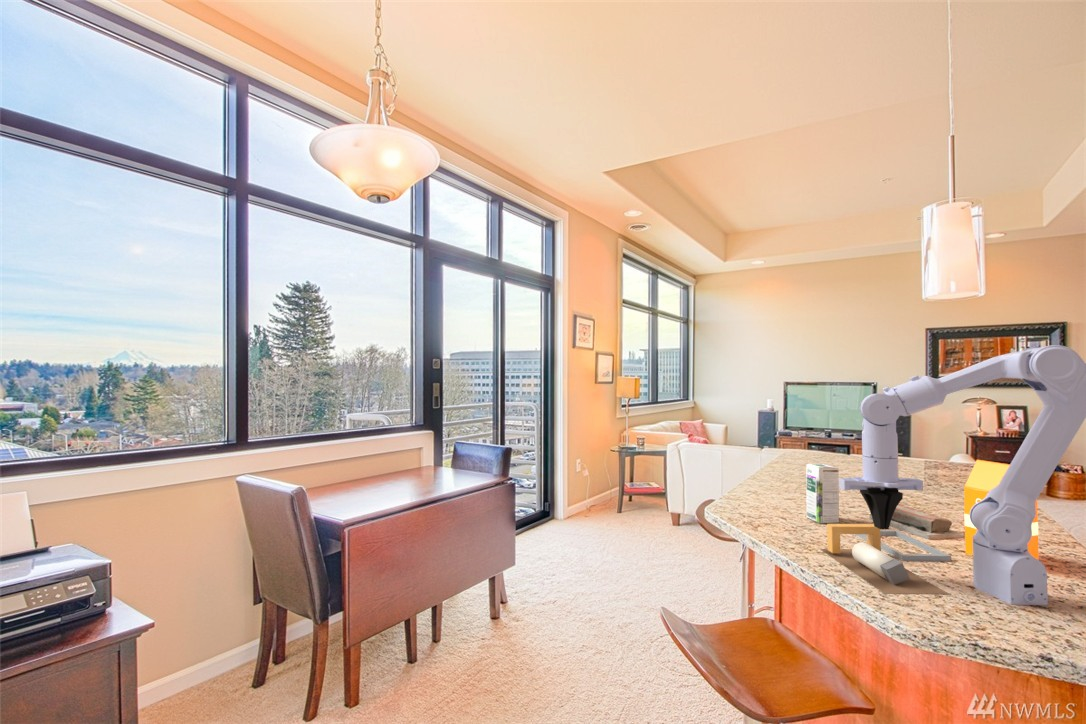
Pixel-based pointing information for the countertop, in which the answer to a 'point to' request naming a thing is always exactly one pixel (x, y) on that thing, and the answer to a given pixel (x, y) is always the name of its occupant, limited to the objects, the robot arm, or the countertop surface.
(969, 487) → the orange juice
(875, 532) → the yellow bridge block
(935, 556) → the tray
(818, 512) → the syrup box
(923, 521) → the packaged product
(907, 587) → the board
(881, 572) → the white cylinder grey cap
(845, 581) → the countertop surface
